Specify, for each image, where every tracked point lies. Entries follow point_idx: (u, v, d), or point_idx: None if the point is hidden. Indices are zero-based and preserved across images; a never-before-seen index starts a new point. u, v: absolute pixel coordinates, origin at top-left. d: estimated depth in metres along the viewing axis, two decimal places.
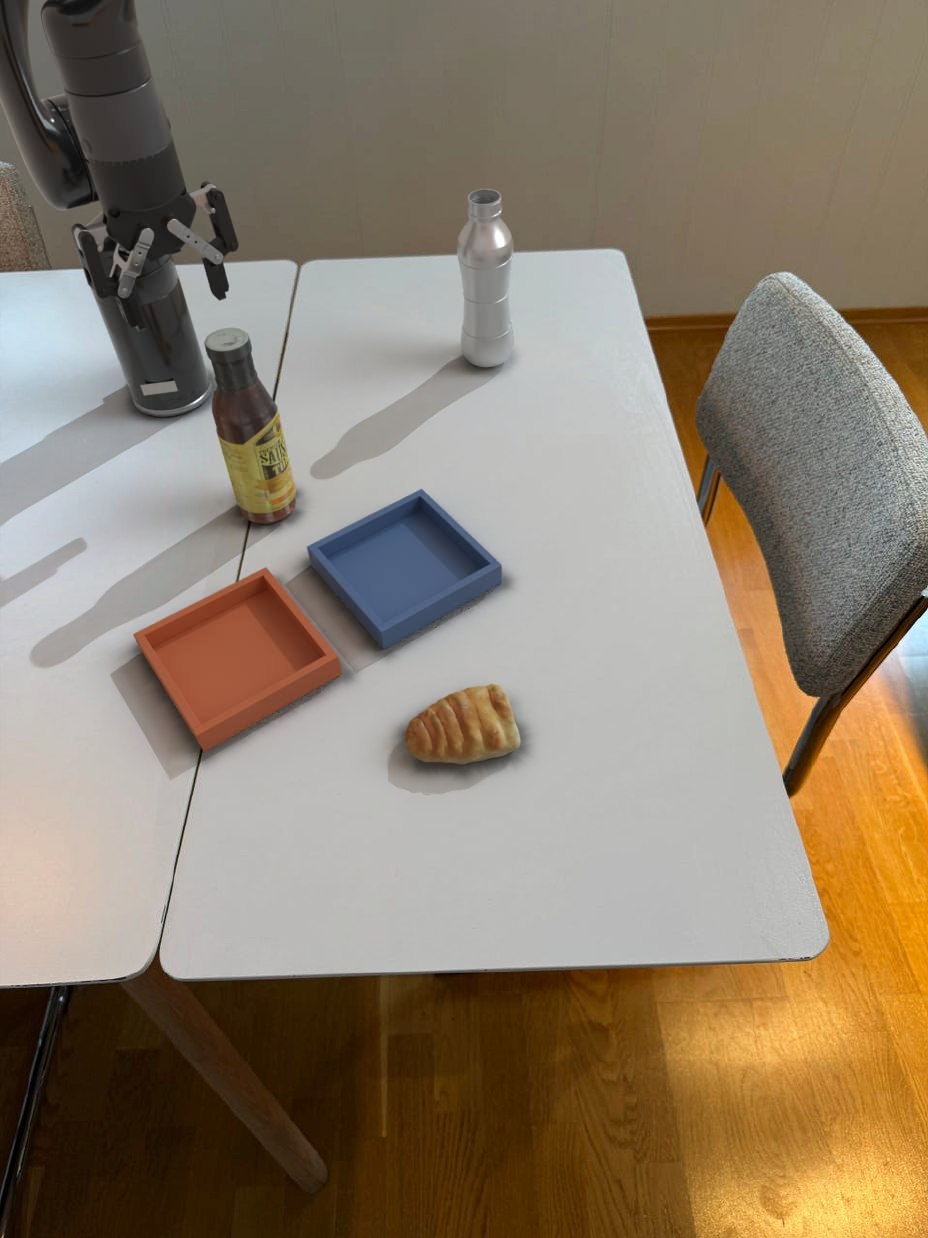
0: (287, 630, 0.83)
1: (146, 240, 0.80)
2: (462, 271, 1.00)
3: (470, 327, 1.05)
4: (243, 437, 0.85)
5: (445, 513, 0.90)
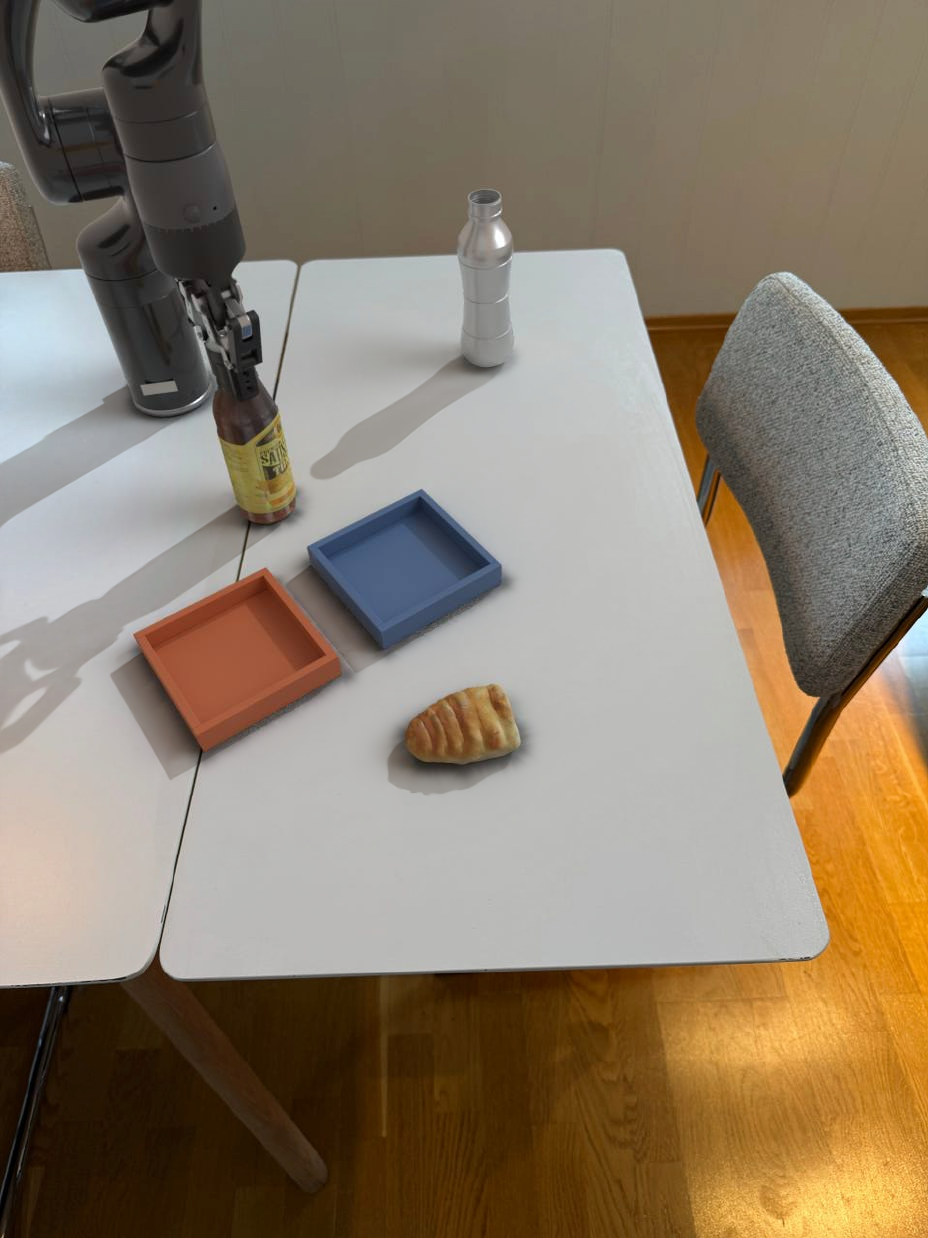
0: (287, 630, 0.83)
1: (183, 293, 0.76)
2: (462, 271, 1.00)
3: (470, 327, 1.05)
4: (243, 437, 0.85)
5: (445, 513, 0.90)
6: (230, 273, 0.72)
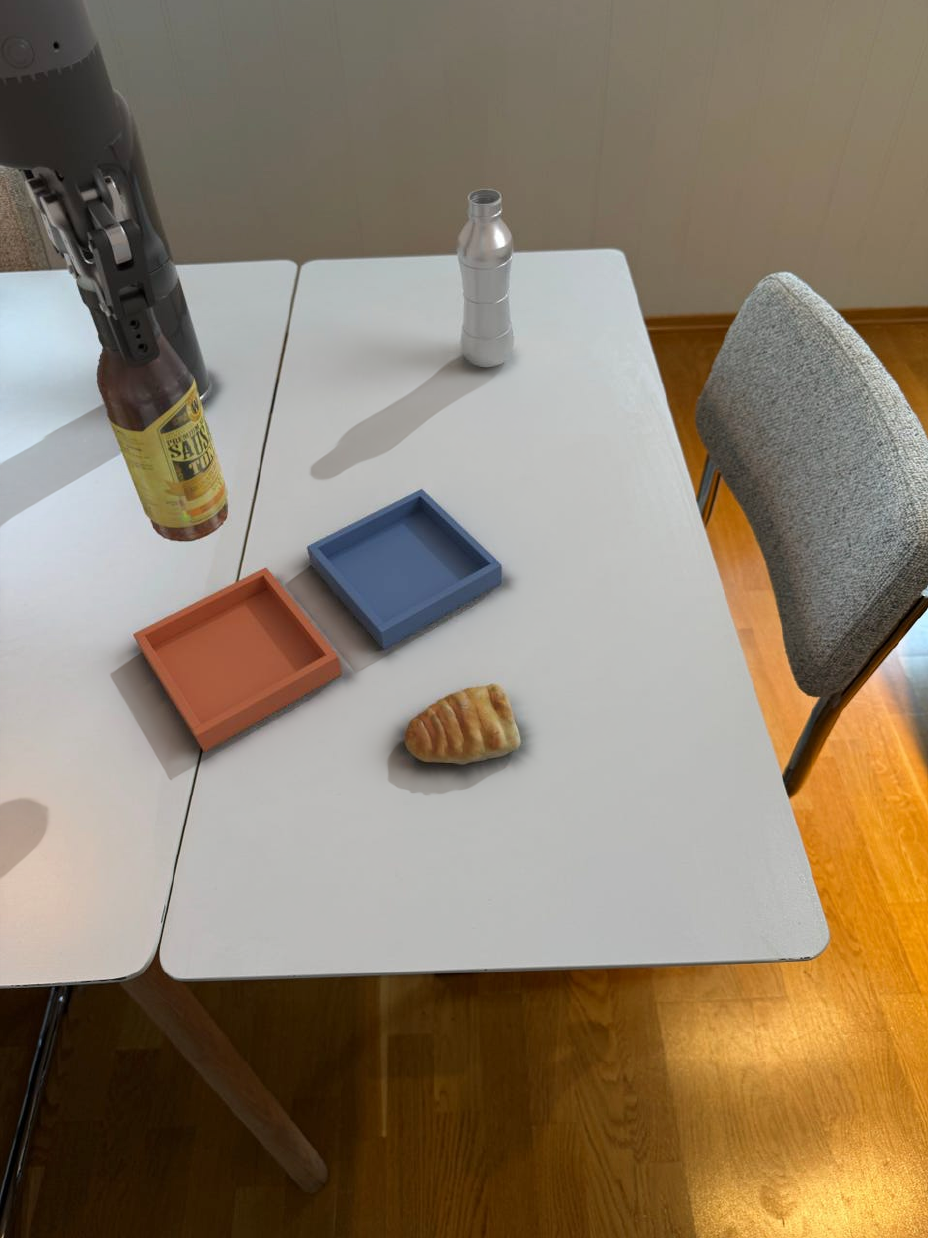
0: (287, 630, 0.83)
1: (33, 200, 0.51)
2: (462, 271, 1.00)
3: (470, 327, 1.05)
4: (141, 420, 0.59)
5: (445, 513, 0.90)
6: (94, 160, 0.47)
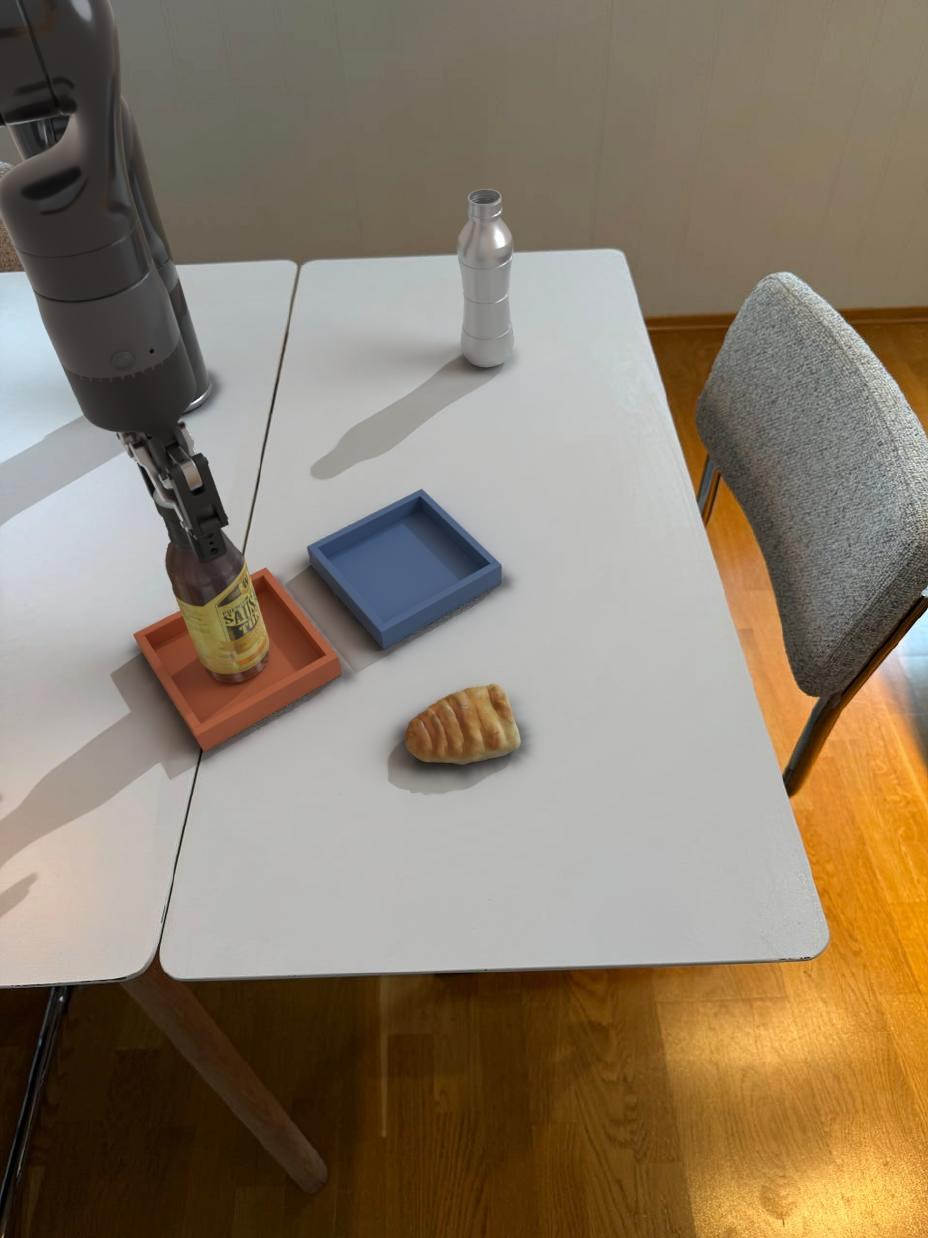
0: (287, 630, 0.83)
1: (119, 436, 0.62)
2: (462, 271, 1.00)
3: (470, 327, 1.05)
4: (202, 598, 0.71)
5: (445, 513, 0.90)
6: (175, 422, 0.58)
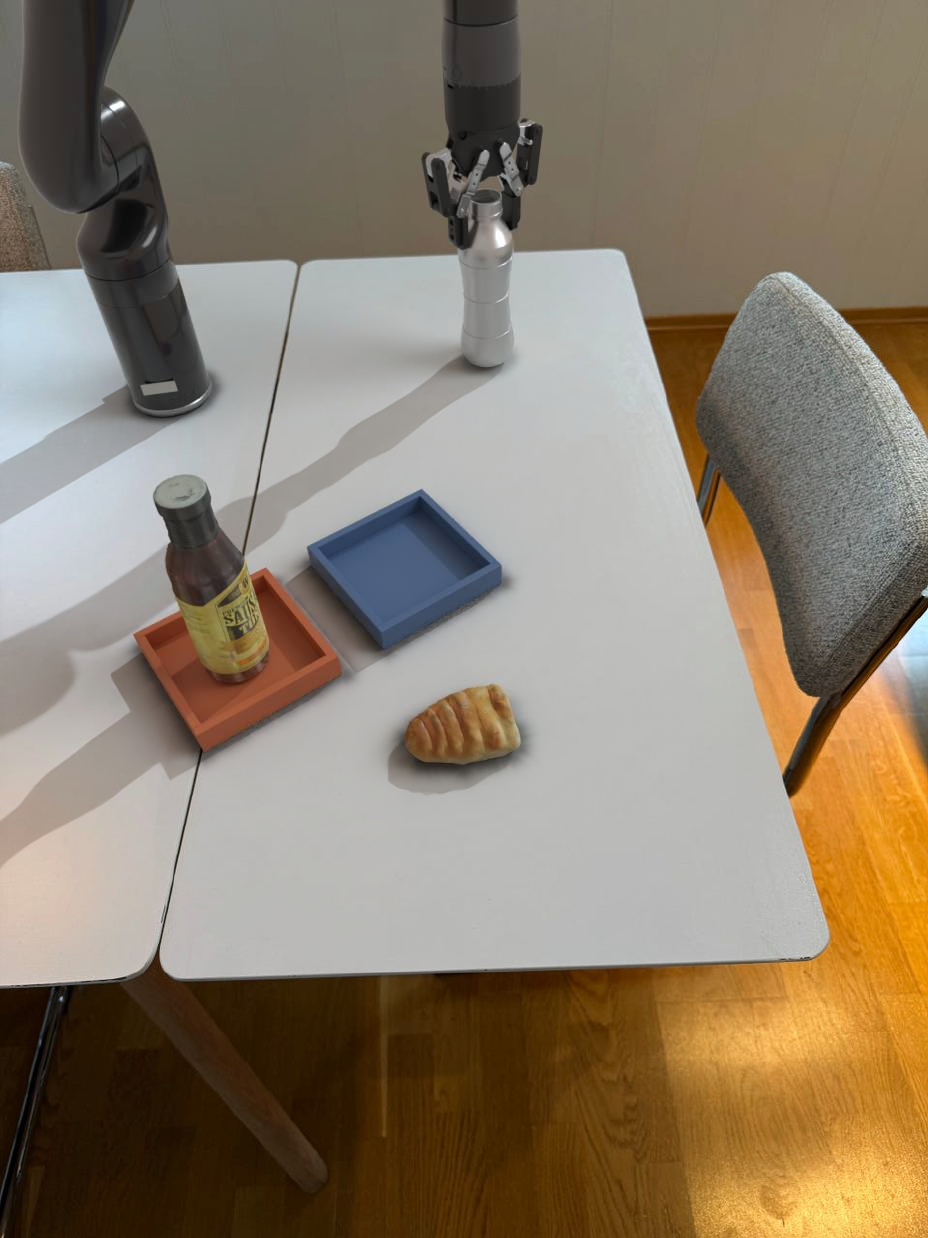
0: (287, 630, 0.83)
1: (483, 161, 0.90)
2: (462, 271, 1.00)
3: (471, 327, 1.05)
4: (202, 598, 0.71)
5: (445, 513, 0.90)
6: None
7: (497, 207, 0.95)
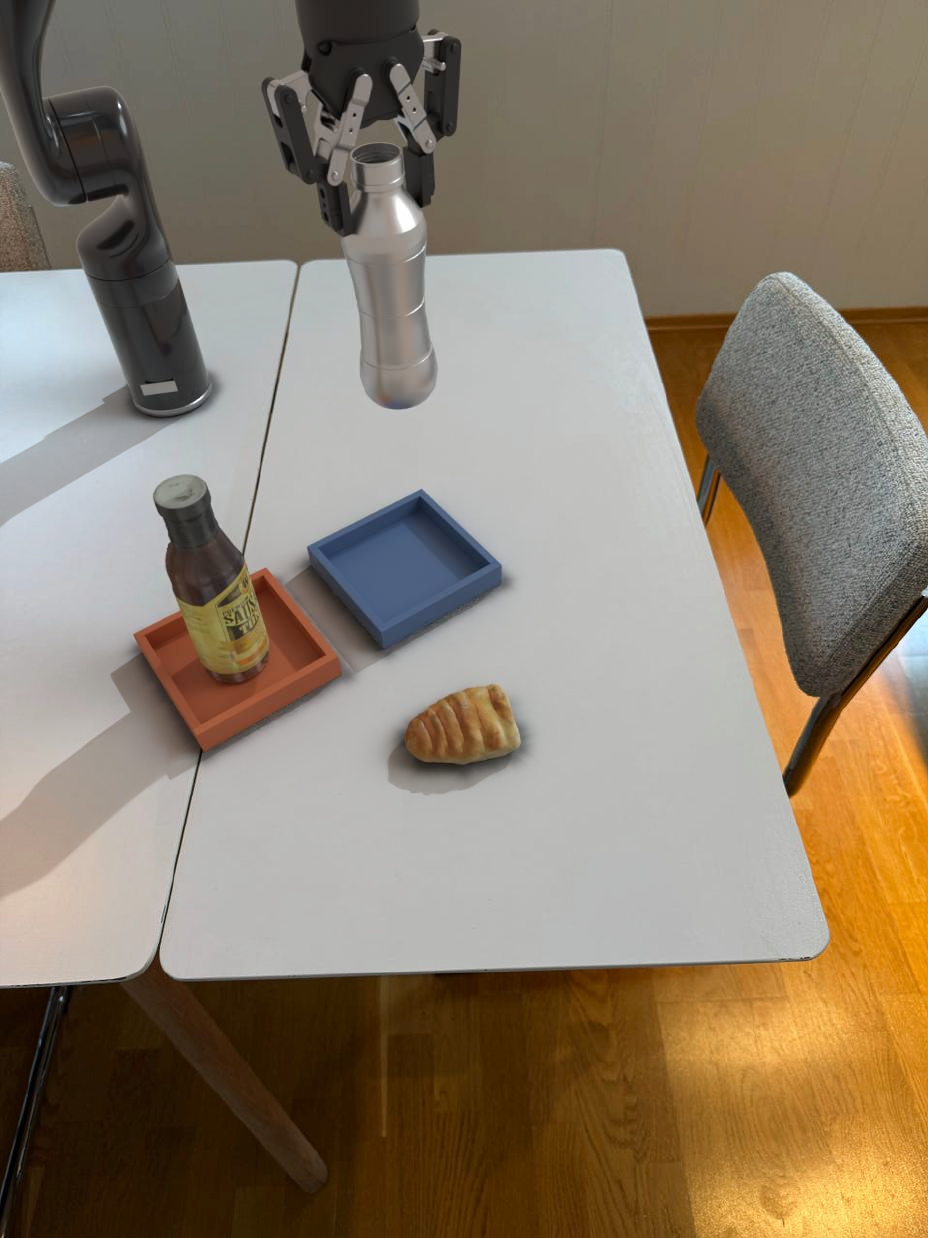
0: (287, 630, 0.83)
1: (363, 93, 0.56)
2: (350, 269, 0.66)
3: (370, 353, 0.71)
4: (202, 598, 0.71)
5: (445, 513, 0.90)
6: None
7: (394, 170, 0.61)
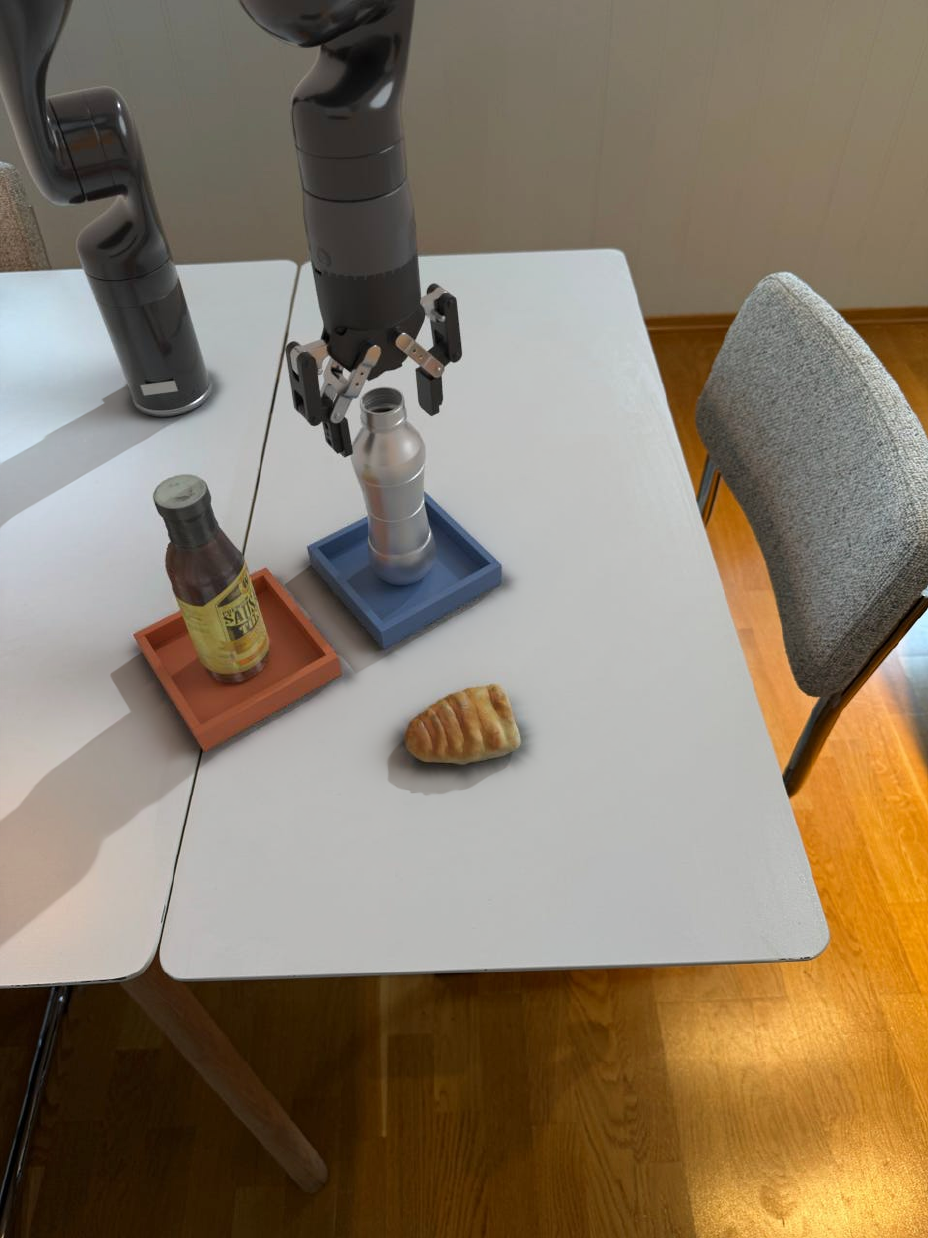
0: (287, 630, 0.83)
1: (372, 359, 0.67)
2: (360, 484, 0.77)
3: (376, 544, 0.82)
4: (202, 598, 0.71)
5: (445, 513, 0.90)
6: None
7: (397, 415, 0.72)
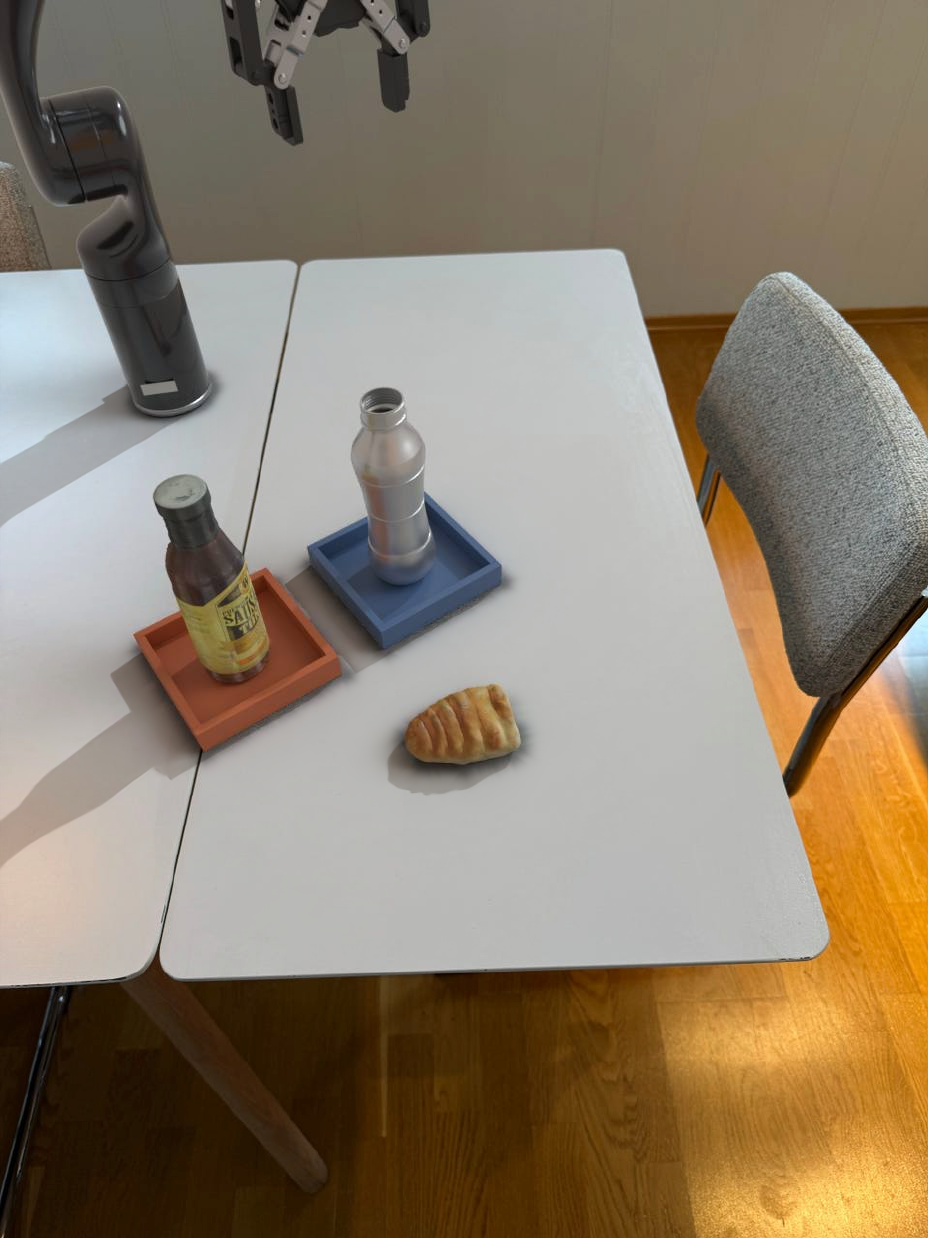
0: (287, 630, 0.83)
1: None
2: (359, 484, 0.77)
3: (376, 544, 0.82)
4: (202, 598, 0.71)
5: (445, 513, 0.90)
6: None
7: (397, 416, 0.72)
